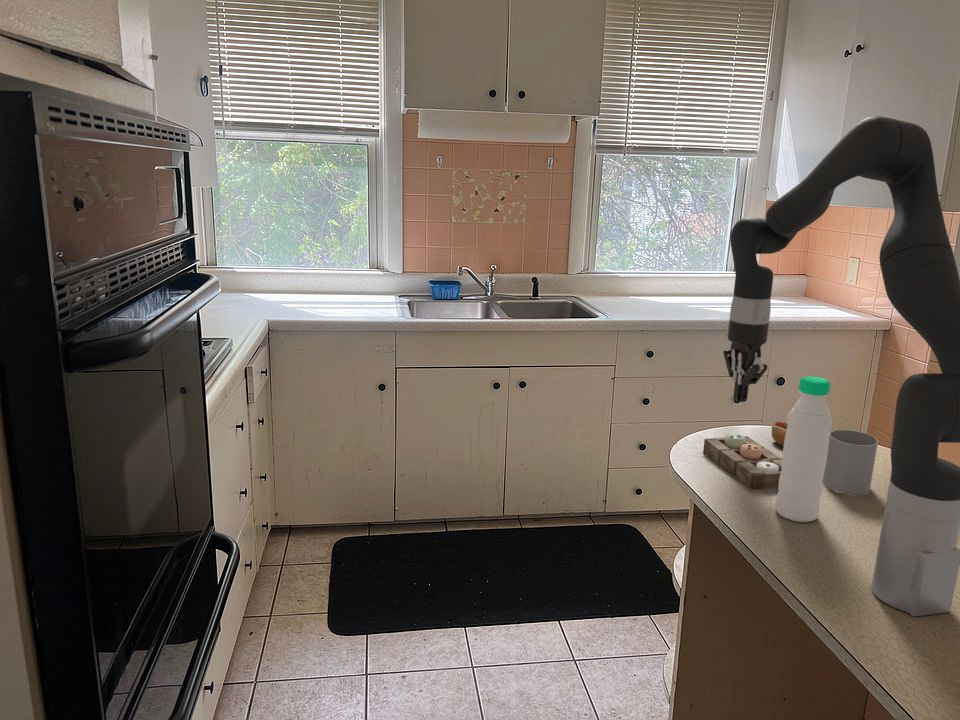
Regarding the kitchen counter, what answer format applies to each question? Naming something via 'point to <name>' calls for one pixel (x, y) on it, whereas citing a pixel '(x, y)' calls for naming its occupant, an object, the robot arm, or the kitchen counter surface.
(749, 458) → the button three
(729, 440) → the button two
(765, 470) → the button one
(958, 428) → the robot arm
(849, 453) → the cup
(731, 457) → the wooden compartment tray
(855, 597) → the kitchen counter surface
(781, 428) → the food
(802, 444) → the water bottle
